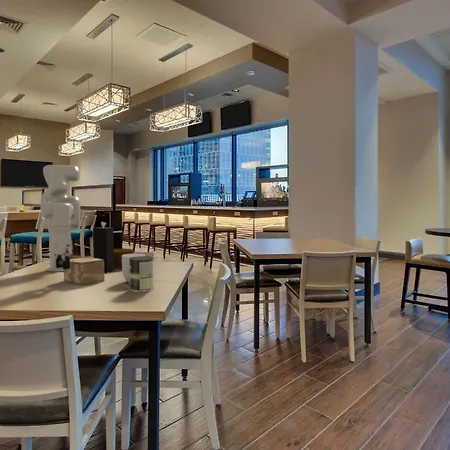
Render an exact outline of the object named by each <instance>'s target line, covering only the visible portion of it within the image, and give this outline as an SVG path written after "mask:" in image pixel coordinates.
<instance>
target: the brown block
mask: <svg viewBox="0 0 450 450" xmlns="http://www.w3.org/2000/svg"><path fill="white" fill-rule="evenodd" d="M125 254H135V250H134V249H132V248H114V269H119V267H122V255H125Z"/></svg>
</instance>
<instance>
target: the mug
mask: <svg viewBox="0 0 450 450" xmlns="http://www.w3.org/2000/svg"><path fill="white" fill-rule="evenodd" d="M138 256H146V254H145V253H144V254H143V253H134V254H125V255H122V268H121V270H122V276H123V278H124V280H125V281H126V283H128V284H130V265H129V258H131V257H138Z"/></svg>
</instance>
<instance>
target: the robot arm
mask: <svg viewBox="0 0 450 450" xmlns="http://www.w3.org/2000/svg"><path fill="white" fill-rule="evenodd" d="M42 172H43V177H44V179H45V181H46V184H47V186H48V188H47V189H46V190H45V191H43V193H42V195H41V196H40V214H41V216H42V218H44V219H47V220H46V225H47V231H48V237H49V239H48V240H49V263H48V264H49V267H48V268H46V271H48V272H64V270H65V269H70V259H72V256H73V245H72V244H73V243H72V242H73V241H72V236H71V233H72V232H77V231H79V230H80V229H81V226H82V225H81V223H82V222H81V201H80V199H79V197H78V196H76V195H66V194H67V193H68V192H69V182H75V183H76V182H77V183H78V181H79V180H80V177H81V175H80V170H79V167H78V166H76V165H72V164H70V165H67V164H48V165H44V167H43V169H42ZM59 261H63V265H60V264H58V262H59Z"/></svg>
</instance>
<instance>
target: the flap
mask: <svg viewBox="0 0 450 450" xmlns="http://www.w3.org/2000/svg"><path fill="white" fill-rule="evenodd" d="M99 261H103V259H97V258H94V257H88V256H83V257H75V258H70V263H78V264H85V263H92V262H99ZM58 264H60V265H63V261H59V262H58Z"/></svg>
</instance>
